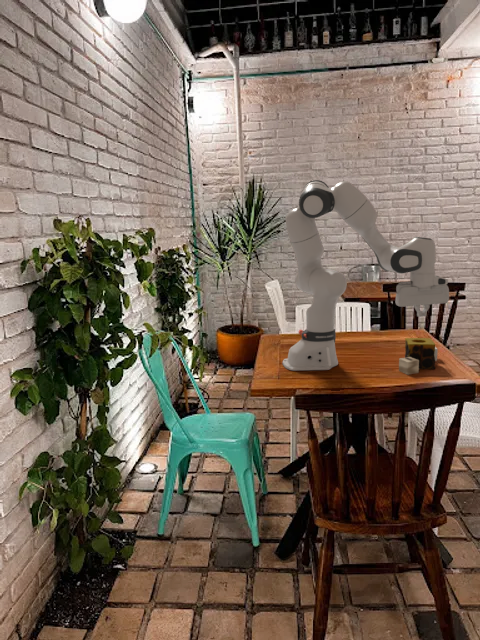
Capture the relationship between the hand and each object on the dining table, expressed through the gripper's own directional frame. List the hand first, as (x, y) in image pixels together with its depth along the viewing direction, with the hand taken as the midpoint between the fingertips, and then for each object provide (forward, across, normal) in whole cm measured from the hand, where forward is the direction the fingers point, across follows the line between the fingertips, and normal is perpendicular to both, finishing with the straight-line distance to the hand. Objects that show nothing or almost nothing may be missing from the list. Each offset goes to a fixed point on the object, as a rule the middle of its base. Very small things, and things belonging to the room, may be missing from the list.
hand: (421, 316), depth 183 cm
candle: (+20, 0, 0) cm, 20 cm away
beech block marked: (+20, -8, -6) cm, 22 cm away
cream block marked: (+20, +8, +7) cm, 22 cm away
